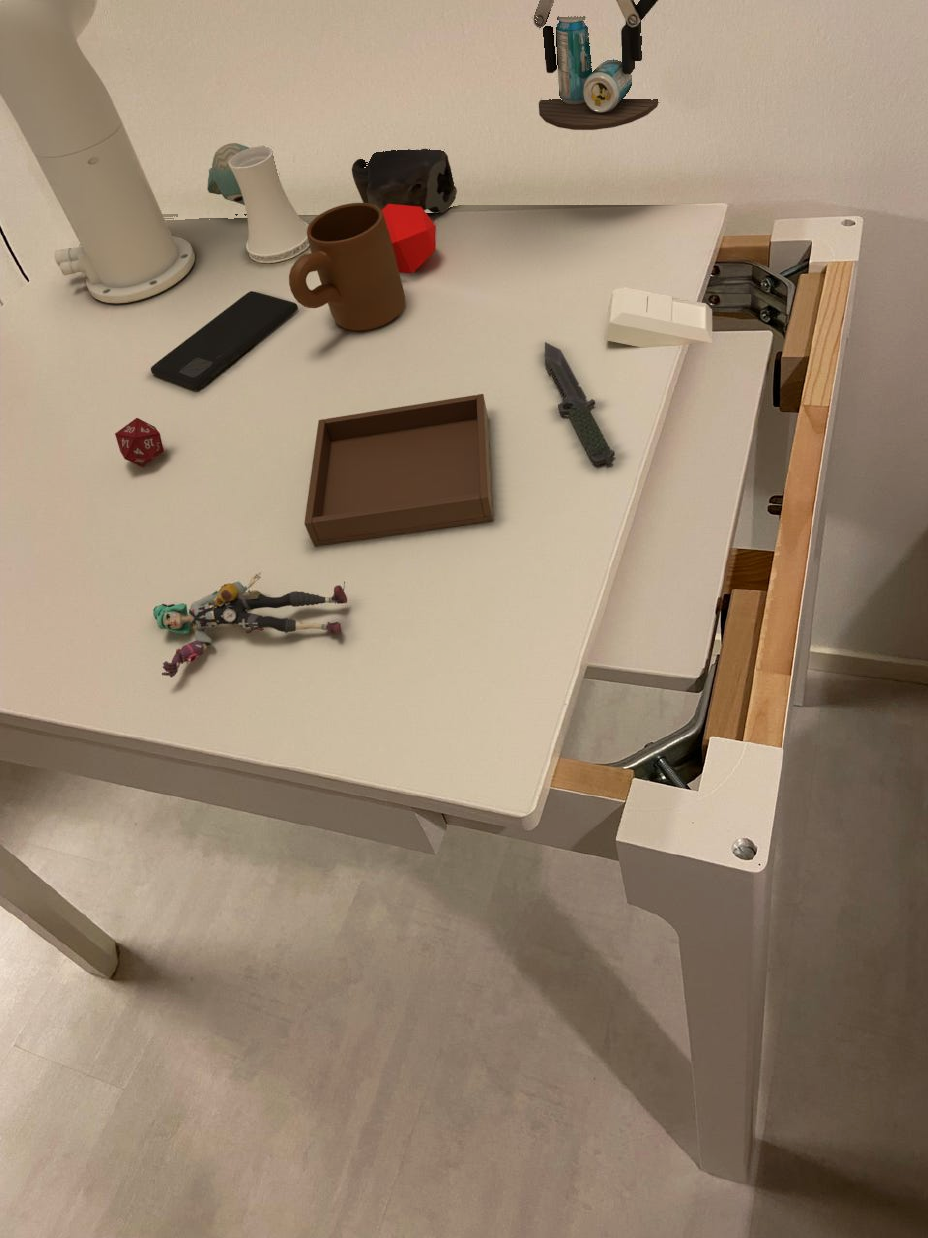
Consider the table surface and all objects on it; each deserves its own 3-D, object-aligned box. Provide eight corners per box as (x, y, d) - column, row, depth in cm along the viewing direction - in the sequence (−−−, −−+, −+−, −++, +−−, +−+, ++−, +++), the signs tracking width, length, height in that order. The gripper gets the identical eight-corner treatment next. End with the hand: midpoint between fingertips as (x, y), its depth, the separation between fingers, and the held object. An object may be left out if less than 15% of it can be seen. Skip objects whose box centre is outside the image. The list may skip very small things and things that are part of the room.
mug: (344, 366, 89) (314, 275, 82) (288, 348, 93) (255, 260, 86) (422, 298, 94) (400, 207, 87) (366, 284, 98) (341, 195, 91)
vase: (322, 226, 108) (294, 137, 101) (300, 261, 104) (270, 171, 96) (263, 229, 110) (231, 143, 103) (239, 264, 106) (205, 176, 98)
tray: (313, 546, 74) (304, 523, 72) (326, 442, 82) (318, 419, 80) (493, 521, 72) (487, 496, 70) (488, 417, 80) (483, 393, 78)
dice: (118, 472, 85) (97, 438, 82) (148, 440, 87) (129, 405, 84) (150, 479, 83) (130, 444, 80) (180, 447, 85) (161, 411, 82)
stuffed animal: (242, 240, 121) (199, 220, 109) (222, 185, 120) (177, 158, 108) (317, 208, 118) (281, 183, 107) (297, 150, 117) (259, 119, 106)
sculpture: (352, 250, 96) (272, 222, 102) (369, 296, 101) (293, 267, 106) (471, 129, 102) (390, 109, 108) (482, 178, 107) (404, 156, 113)
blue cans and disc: (568, 74, 99) (564, -13, 93) (678, 80, 94) (681, -11, 88) (518, 125, 92) (509, 34, 86) (633, 134, 88) (633, 39, 82)
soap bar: (608, 307, 86) (615, 281, 83) (705, 326, 86) (715, 301, 83) (604, 339, 83) (612, 314, 80) (705, 360, 83) (715, 334, 80)
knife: (625, 453, 73) (587, 464, 73) (625, 461, 73) (588, 472, 73) (558, 333, 85) (526, 342, 85) (559, 341, 85) (528, 350, 85)
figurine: (140, 678, 65) (165, 696, 68) (342, 617, 64) (358, 638, 67) (135, 590, 68) (159, 611, 72) (327, 530, 67) (342, 555, 70)
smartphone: (251, 294, 101) (149, 374, 94) (248, 287, 100) (146, 367, 93) (301, 307, 97) (199, 392, 90) (298, 300, 96) (196, 384, 90)
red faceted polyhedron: (452, 270, 99) (382, 296, 101) (435, 208, 99) (365, 234, 101) (438, 249, 92) (363, 276, 94) (419, 182, 92) (344, 211, 94)
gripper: (699, -189, 76) (693, 52, 89) (504, -170, 83) (526, 51, 96) (669, -161, 72) (668, 86, 85) (467, -144, 79) (495, 82, 92)
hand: (593, 66), depth 91 cm, fingers closed on blue cans and disc, 7 cm apart
